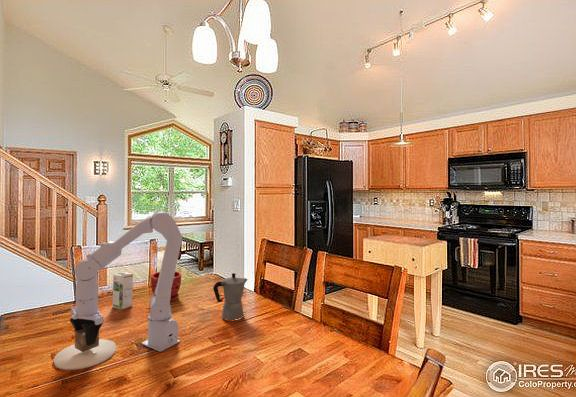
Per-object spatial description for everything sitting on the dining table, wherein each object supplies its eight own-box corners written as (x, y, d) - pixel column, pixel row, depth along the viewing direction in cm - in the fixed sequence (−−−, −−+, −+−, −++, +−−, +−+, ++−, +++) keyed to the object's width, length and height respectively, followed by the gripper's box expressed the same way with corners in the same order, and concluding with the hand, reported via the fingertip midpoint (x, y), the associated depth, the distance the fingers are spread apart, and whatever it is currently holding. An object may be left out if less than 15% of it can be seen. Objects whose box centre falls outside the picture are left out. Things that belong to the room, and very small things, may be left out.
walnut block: (98, 345, 96) (99, 329, 96) (82, 352, 92) (83, 335, 92) (90, 341, 99) (90, 326, 98) (74, 347, 95) (75, 331, 94)
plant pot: (144, 302, 140) (144, 276, 140) (163, 293, 153) (164, 269, 152) (168, 306, 136) (168, 279, 136) (186, 297, 149) (187, 272, 148)
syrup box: (111, 307, 133) (112, 274, 133) (124, 303, 138) (125, 271, 138) (120, 310, 131) (120, 276, 130) (133, 305, 136) (133, 273, 135)
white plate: (126, 351, 98) (126, 347, 98) (71, 376, 84) (71, 372, 84) (98, 337, 106) (98, 335, 106) (43, 359, 92) (43, 355, 92)
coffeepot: (240, 309, 135) (241, 268, 134) (252, 316, 127) (253, 273, 127) (207, 318, 125) (208, 273, 125) (218, 326, 118) (219, 279, 117)
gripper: (60, 296, 95) (59, 340, 95) (85, 307, 88) (85, 354, 88) (85, 290, 101) (84, 332, 102) (110, 299, 94) (110, 344, 94)
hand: (86, 341), depth 95 cm, fingers closed on walnut block, 5 cm apart
